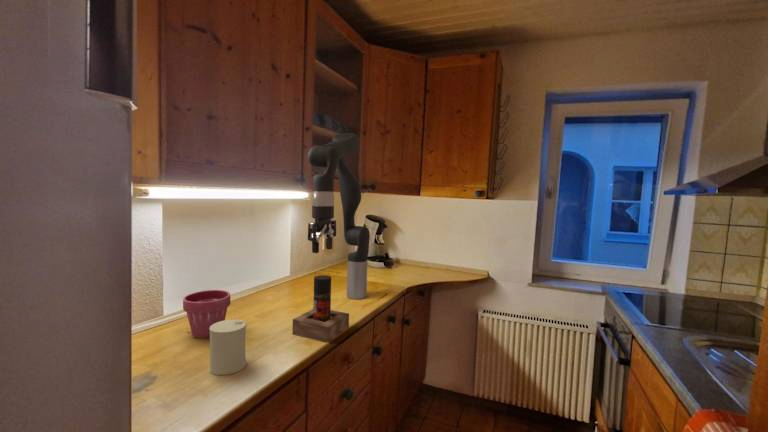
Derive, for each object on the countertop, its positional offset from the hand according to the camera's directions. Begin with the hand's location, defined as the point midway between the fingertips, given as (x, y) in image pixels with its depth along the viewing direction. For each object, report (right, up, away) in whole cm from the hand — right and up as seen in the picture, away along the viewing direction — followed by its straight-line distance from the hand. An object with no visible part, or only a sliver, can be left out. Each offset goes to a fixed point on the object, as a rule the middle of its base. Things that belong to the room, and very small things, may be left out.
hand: (322, 250), depth 119 cm
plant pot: (-38, -27, -4) cm, 47 cm away
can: (-21, -29, -25) cm, 44 cm away
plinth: (0, -28, +1) cm, 28 cm away
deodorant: (0, -24, +1) cm, 24 cm away
